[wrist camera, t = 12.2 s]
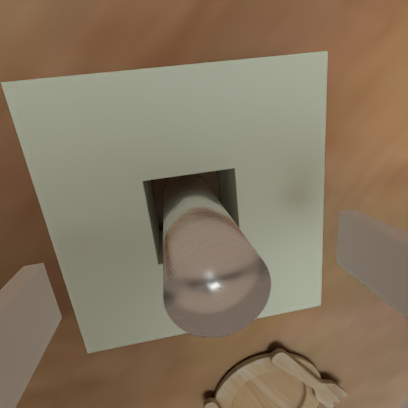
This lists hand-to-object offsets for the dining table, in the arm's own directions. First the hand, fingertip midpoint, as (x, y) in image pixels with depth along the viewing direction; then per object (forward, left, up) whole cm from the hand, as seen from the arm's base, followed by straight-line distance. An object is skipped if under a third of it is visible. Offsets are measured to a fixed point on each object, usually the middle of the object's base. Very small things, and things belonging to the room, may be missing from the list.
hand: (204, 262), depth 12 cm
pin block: (0, 0, -12) cm, 12 cm away
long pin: (0, 0, -12) cm, 12 cm away
